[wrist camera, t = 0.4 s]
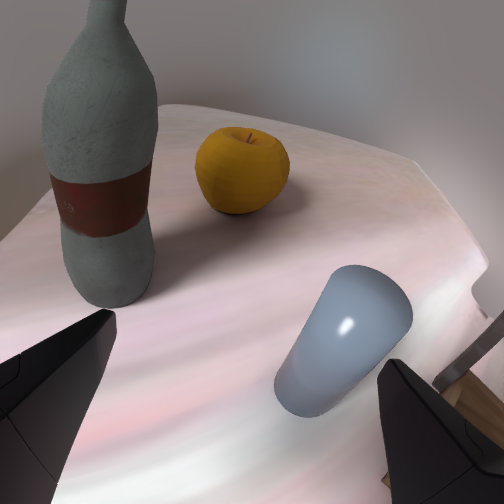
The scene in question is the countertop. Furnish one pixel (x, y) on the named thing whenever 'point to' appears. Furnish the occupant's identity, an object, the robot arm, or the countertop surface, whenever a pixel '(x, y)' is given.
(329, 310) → the blue-grey tall cylinder
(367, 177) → the countertop surface
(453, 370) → the shelf bay
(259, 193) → the apple
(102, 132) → the bottle
